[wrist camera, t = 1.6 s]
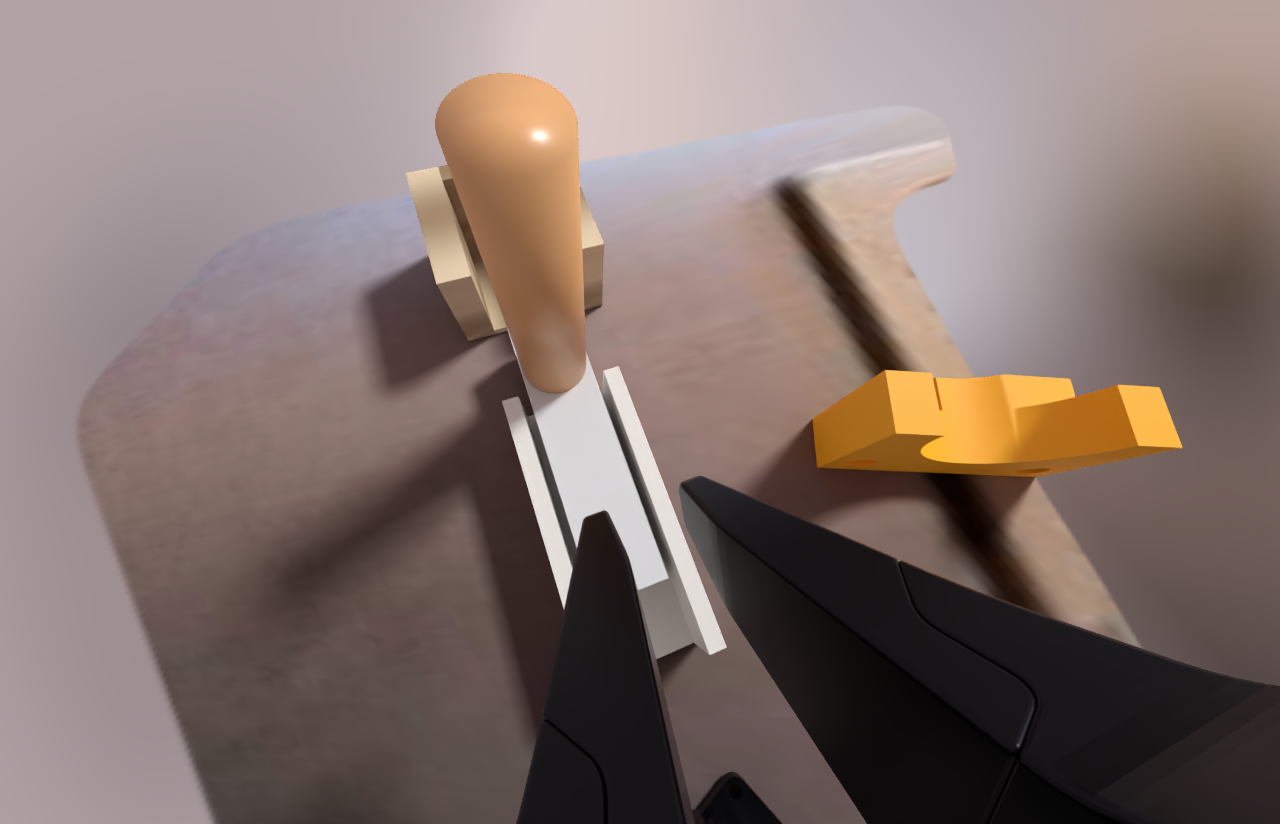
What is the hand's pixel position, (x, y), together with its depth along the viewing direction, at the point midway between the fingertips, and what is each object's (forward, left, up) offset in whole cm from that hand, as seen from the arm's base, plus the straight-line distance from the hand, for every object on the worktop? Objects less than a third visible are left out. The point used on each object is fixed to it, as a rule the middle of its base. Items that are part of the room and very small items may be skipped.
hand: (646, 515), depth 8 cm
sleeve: (+1, 0, -14) cm, 14 cm away
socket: (+14, -6, -14) cm, 20 cm away
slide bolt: (+4, -2, -13) cm, 14 cm away
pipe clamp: (-7, -16, -14) cm, 22 cm away
